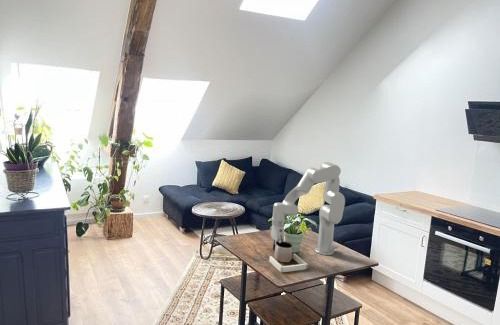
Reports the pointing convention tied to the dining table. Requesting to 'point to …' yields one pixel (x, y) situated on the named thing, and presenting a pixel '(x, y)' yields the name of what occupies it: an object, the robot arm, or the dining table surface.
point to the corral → (301, 265)
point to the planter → (283, 251)
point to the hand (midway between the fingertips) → (275, 250)
